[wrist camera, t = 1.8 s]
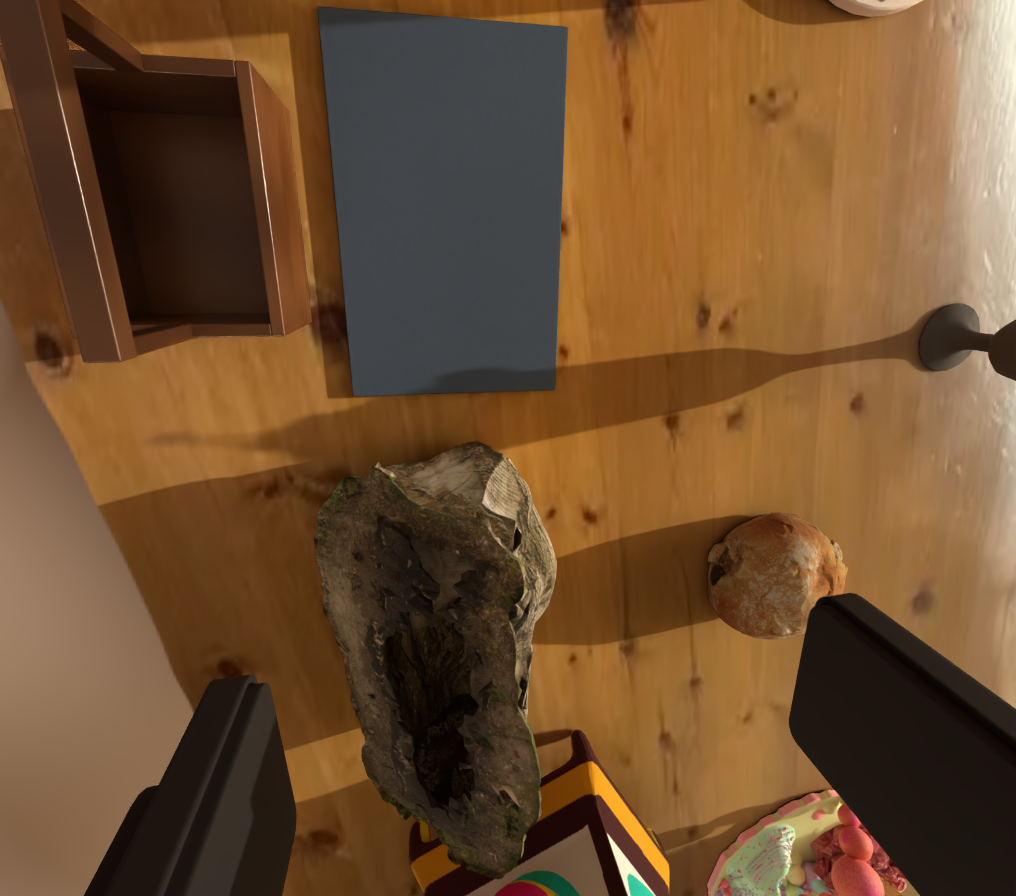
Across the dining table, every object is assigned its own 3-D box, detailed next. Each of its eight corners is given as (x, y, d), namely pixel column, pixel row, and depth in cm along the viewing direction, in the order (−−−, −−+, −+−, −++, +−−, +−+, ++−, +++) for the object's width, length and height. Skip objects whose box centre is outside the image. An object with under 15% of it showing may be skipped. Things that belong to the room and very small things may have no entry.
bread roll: (713, 489, 44) (723, 530, 37) (849, 511, 42) (890, 559, 34) (692, 591, 47) (697, 648, 40) (818, 617, 45) (848, 682, 37)
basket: (99, 98, 26) (-195, -60, 14) (288, 108, 28) (181, -27, 15) (147, 324, 30) (-51, 366, 17) (312, 323, 31) (242, 359, 19)
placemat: (318, 9, 27) (316, 5, 26) (566, 29, 29) (568, 26, 28) (353, 394, 33) (353, 396, 33) (553, 388, 35) (555, 390, 35)
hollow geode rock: (456, 699, 48) (605, 798, 40) (339, 808, 38) (503, 969, 30) (458, 403, 38) (655, 453, 30) (301, 448, 28) (528, 540, 20)
